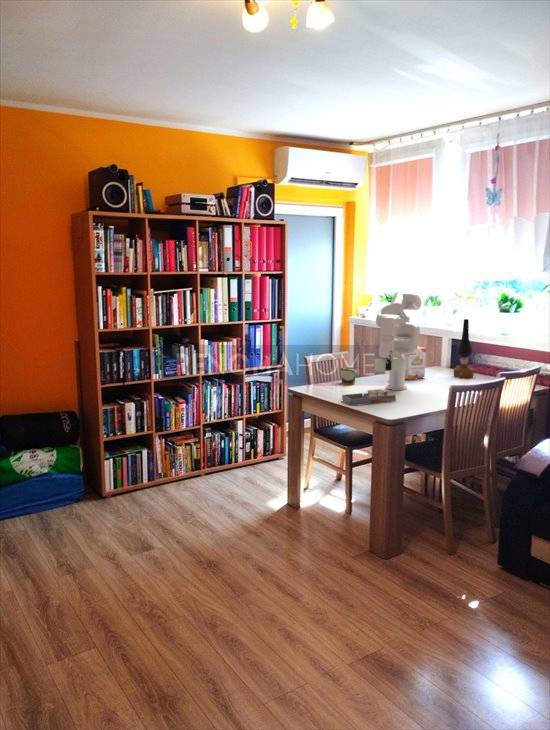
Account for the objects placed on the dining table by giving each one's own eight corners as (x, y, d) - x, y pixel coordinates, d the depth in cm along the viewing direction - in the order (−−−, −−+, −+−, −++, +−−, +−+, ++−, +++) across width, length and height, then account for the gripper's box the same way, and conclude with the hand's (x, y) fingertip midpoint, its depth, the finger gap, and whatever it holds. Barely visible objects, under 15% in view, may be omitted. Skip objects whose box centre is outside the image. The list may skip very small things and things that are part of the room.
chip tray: (342, 400, 337) (342, 394, 337) (362, 399, 341) (362, 393, 340) (351, 405, 326) (351, 399, 325) (371, 403, 330) (371, 397, 329)
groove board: (363, 399, 341) (363, 393, 340) (386, 397, 345) (386, 391, 345) (371, 403, 330) (372, 397, 330) (395, 401, 335) (395, 395, 334)
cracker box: (408, 380, 394) (409, 349, 391) (402, 378, 400) (403, 348, 396) (425, 378, 400) (426, 347, 396) (419, 376, 405) (420, 346, 402)
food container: (360, 383, 384) (360, 368, 382) (354, 385, 380) (354, 369, 378) (346, 381, 393) (346, 366, 391) (340, 382, 389) (340, 367, 387)
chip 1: (367, 397, 337) (367, 390, 337) (373, 396, 339) (373, 389, 338) (370, 398, 334) (370, 391, 333) (377, 397, 335) (377, 391, 334)
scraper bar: (374, 370, 342) (374, 358, 341) (395, 369, 345) (395, 357, 344) (377, 371, 338) (377, 359, 337) (398, 370, 341) (398, 358, 340)
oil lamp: (475, 383, 399) (491, 326, 388) (453, 379, 399) (469, 322, 387) (469, 376, 412) (485, 321, 401) (448, 373, 412) (463, 317, 400)
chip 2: (374, 396, 339) (374, 389, 338) (380, 395, 340) (380, 389, 339) (377, 397, 335) (378, 391, 334) (384, 397, 336) (384, 390, 336)
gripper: (374, 336, 345) (374, 367, 348) (387, 340, 329) (387, 372, 333) (386, 335, 347) (386, 366, 350) (400, 339, 331) (399, 371, 335)
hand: (386, 369), depth 341 cm, fingers closed on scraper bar, 4 cm apart
